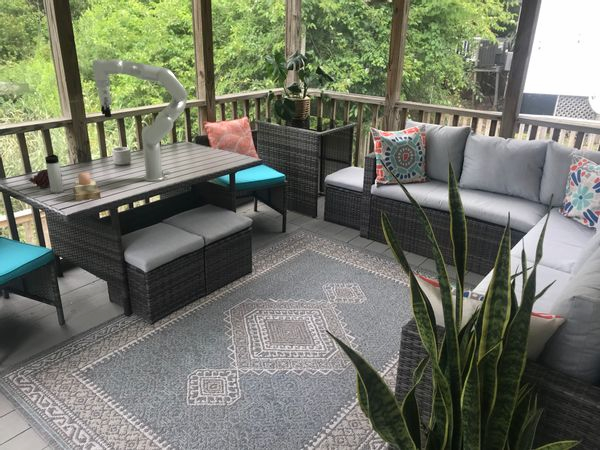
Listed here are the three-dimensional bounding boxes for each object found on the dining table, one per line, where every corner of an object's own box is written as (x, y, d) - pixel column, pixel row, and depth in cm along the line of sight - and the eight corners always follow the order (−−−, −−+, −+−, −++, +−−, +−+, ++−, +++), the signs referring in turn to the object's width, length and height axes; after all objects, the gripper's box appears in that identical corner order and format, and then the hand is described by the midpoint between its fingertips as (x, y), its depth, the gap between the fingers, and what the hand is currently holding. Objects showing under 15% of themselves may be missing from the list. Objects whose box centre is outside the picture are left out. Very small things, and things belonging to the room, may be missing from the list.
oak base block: (97, 192, 266) (96, 185, 264) (100, 199, 256) (99, 192, 255) (73, 195, 260) (72, 188, 259) (76, 202, 251) (75, 195, 249)
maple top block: (95, 186, 263) (94, 179, 262) (97, 191, 255) (95, 184, 253) (75, 188, 259) (74, 181, 258) (76, 194, 251) (75, 186, 249)
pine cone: (59, 181, 281) (57, 164, 277) (67, 185, 275) (65, 168, 271) (27, 188, 268) (24, 170, 264) (35, 192, 262) (32, 174, 258)
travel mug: (66, 190, 267) (60, 154, 259) (61, 193, 261) (54, 157, 253) (54, 189, 266) (48, 154, 259) (49, 193, 260) (42, 157, 253)
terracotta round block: (89, 180, 259) (88, 171, 257) (91, 183, 254) (90, 174, 252) (78, 182, 256) (77, 173, 254) (79, 185, 252) (78, 176, 250)
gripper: (112, 85, 257) (116, 117, 264) (107, 81, 271) (110, 112, 278) (97, 85, 254) (102, 118, 260) (92, 82, 268) (97, 113, 274)
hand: (106, 115), depth 269 cm, fingers open, 9 cm apart
